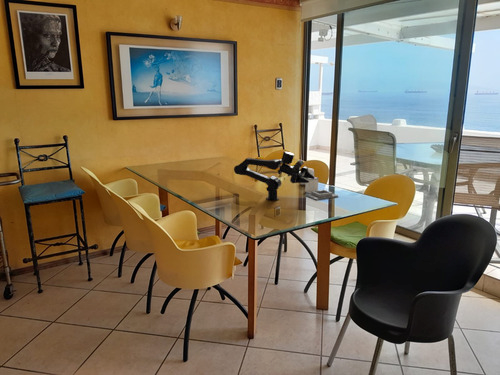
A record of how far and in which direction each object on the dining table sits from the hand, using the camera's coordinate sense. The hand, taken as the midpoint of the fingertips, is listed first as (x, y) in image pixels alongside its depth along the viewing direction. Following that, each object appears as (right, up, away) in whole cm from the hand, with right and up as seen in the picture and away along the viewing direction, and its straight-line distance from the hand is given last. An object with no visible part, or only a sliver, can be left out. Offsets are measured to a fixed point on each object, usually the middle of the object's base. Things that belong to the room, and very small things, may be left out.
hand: (311, 179), depth 225 cm
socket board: (+10, -11, +22) cm, 27 cm away
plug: (+6, -8, +34) cm, 35 cm away
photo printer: (+6, -2, +56) cm, 56 cm away
